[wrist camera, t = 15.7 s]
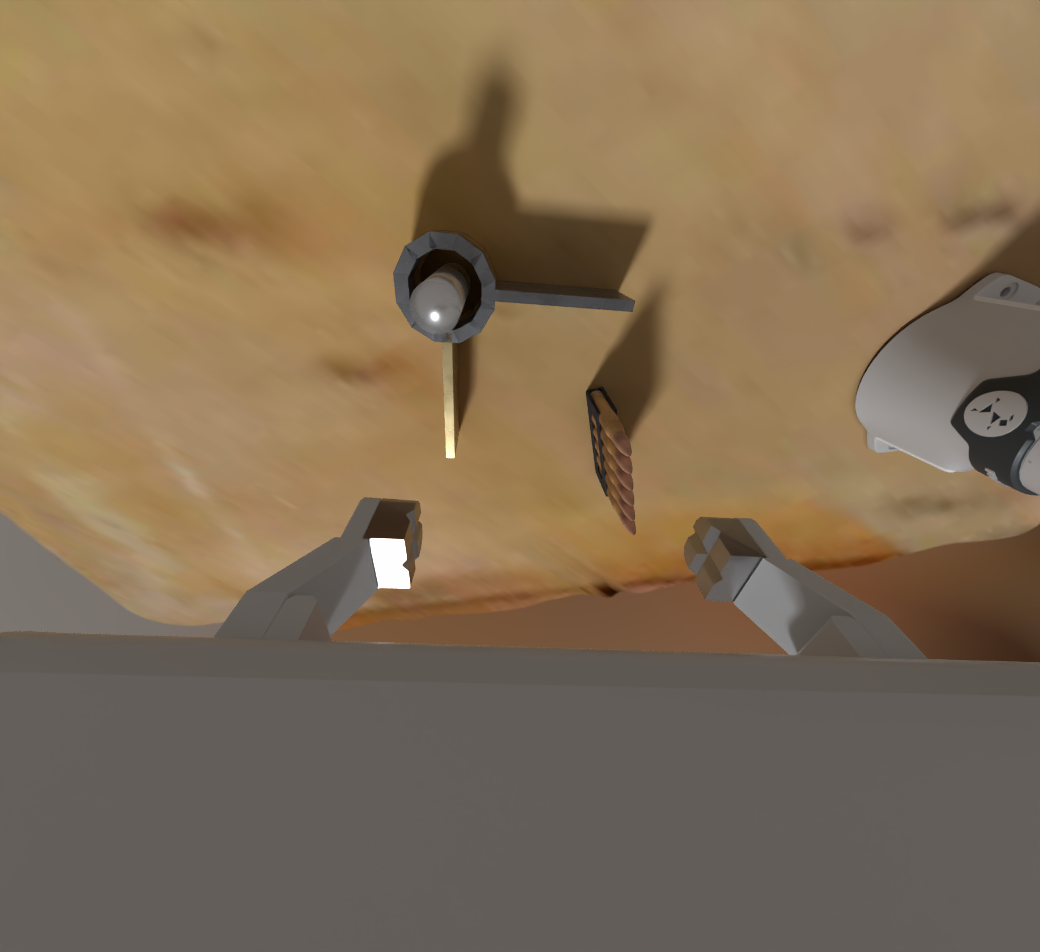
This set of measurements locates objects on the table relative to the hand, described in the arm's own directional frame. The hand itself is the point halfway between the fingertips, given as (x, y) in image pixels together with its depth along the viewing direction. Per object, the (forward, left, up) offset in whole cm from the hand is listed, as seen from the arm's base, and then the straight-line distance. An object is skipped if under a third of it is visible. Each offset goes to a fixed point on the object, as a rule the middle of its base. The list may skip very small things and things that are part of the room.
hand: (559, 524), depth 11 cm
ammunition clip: (-10, +11, -29) cm, 32 cm away
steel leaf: (0, -3, -28) cm, 28 cm away
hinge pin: (+6, -3, -28) cm, 29 cm away
